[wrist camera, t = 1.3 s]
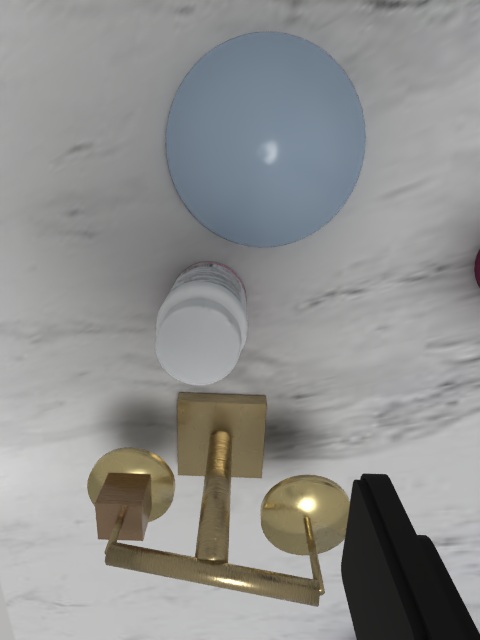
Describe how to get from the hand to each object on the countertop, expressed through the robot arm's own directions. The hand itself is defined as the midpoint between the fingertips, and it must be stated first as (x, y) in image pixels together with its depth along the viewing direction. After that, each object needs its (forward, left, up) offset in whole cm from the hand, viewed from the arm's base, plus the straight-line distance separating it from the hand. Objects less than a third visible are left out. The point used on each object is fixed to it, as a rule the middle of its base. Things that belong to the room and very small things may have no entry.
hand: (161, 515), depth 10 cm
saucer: (-9, +3, -18) cm, 21 cm away
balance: (+10, +1, -18) cm, 21 cm away
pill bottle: (0, 0, -18) cm, 19 cm away
